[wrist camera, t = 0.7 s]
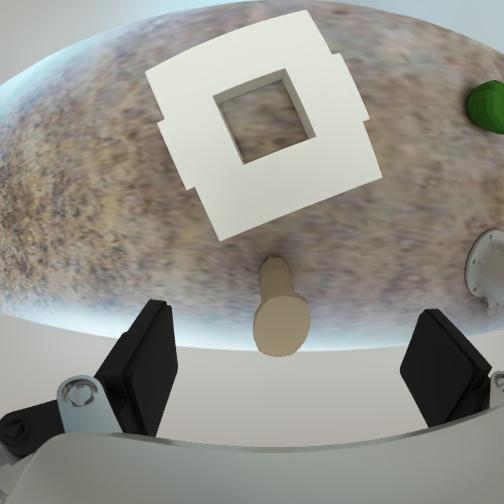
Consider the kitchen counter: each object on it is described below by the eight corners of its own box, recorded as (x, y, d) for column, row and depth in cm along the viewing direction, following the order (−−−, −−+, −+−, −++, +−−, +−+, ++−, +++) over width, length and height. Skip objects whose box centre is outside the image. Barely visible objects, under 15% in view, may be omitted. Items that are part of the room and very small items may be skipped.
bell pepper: (452, 89, 29) (494, 79, 20) (482, 82, 28) (521, 75, 19) (470, 140, 32) (513, 142, 22) (497, 130, 30) (538, 131, 21)
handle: (252, 285, 40) (249, 353, 25) (259, 240, 38) (259, 292, 23) (287, 289, 40) (300, 358, 25) (295, 245, 38) (317, 299, 23)
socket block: (373, 172, 34) (389, 174, 29) (217, 233, 37) (212, 244, 33) (307, 24, 28) (313, 8, 23) (152, 85, 31) (137, 76, 26)
